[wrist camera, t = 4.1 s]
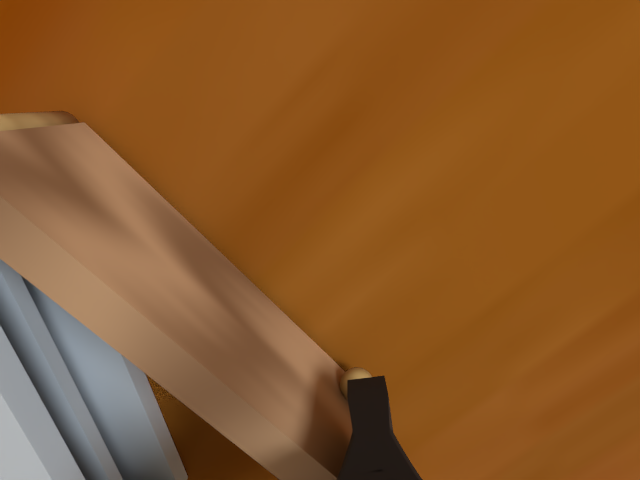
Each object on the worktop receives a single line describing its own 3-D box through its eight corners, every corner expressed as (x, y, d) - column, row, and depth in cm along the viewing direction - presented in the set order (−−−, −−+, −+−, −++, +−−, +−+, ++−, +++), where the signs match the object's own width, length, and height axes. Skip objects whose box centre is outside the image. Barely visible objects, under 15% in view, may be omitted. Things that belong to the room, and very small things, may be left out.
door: (39, 128, 12) (-139, 148, 7) (84, 74, 11) (-80, 58, 7) (357, 420, 15) (369, 550, 11) (403, 391, 15) (434, 516, 10)
